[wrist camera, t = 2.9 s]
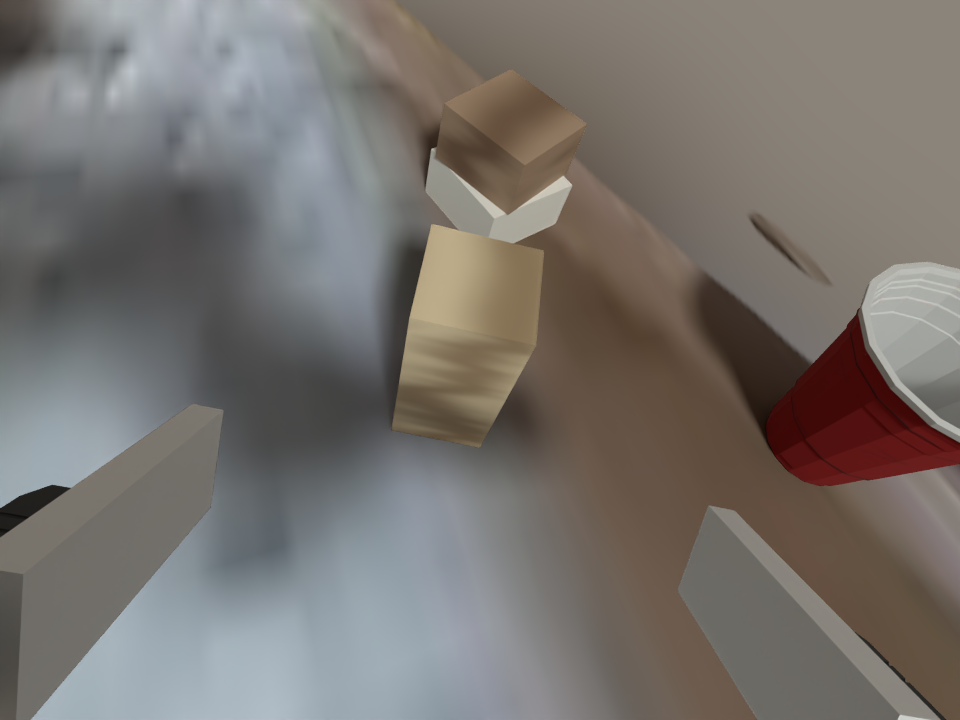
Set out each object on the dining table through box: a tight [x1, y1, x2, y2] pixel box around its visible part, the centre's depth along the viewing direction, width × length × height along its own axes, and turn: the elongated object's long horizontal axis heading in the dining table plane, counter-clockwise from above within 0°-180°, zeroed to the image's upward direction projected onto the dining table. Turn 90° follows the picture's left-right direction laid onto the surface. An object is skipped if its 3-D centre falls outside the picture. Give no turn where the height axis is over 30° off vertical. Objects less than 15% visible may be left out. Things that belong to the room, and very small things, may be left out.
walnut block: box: [435, 70, 587, 215], centre depth 35 cm, size 6×6×4 cm
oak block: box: [392, 224, 544, 448], centre depth 27 cm, size 5×5×11 cm
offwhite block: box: [425, 147, 572, 243], centre depth 39 cm, size 7×7×4 cm
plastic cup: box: [766, 262, 960, 486], centre depth 30 cm, size 11×11×12 cm
